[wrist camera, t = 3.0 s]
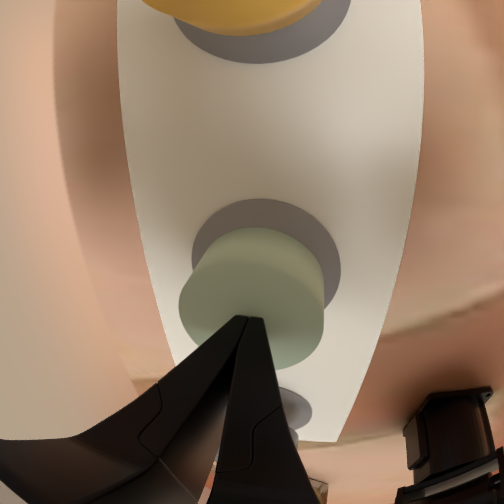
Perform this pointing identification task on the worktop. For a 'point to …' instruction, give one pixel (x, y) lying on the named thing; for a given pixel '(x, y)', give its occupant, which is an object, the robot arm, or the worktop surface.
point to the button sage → (258, 291)
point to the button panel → (280, 166)
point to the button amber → (236, 14)
